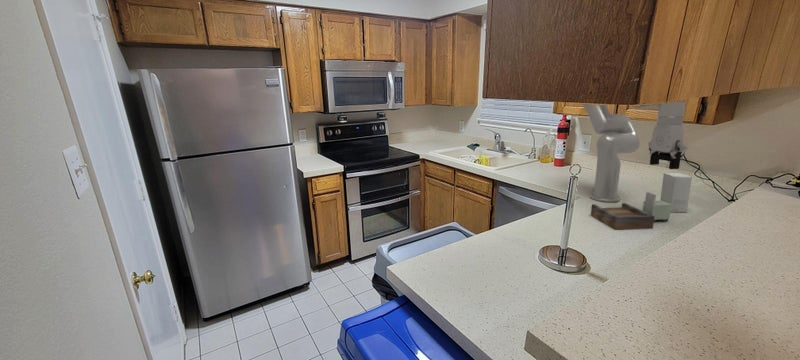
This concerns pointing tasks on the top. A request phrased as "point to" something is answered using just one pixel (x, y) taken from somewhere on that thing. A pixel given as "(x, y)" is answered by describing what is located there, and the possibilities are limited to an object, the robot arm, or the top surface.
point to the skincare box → (676, 191)
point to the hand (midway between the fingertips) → (663, 166)
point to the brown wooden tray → (623, 217)
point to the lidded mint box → (656, 207)
